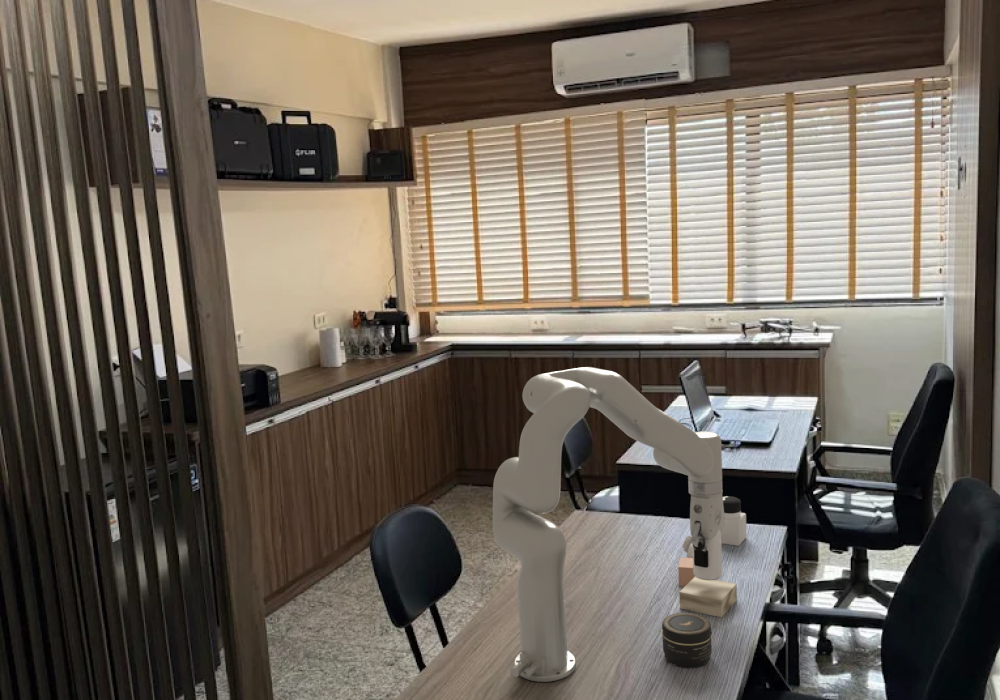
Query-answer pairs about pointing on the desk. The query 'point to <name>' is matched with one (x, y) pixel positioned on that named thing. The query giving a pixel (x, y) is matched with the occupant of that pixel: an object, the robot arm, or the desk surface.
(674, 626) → the jar
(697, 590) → the birch block
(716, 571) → the can
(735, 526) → the medicine bottle
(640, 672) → the desk surface
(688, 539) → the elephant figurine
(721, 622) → the desk surface
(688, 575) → the terracotta block
